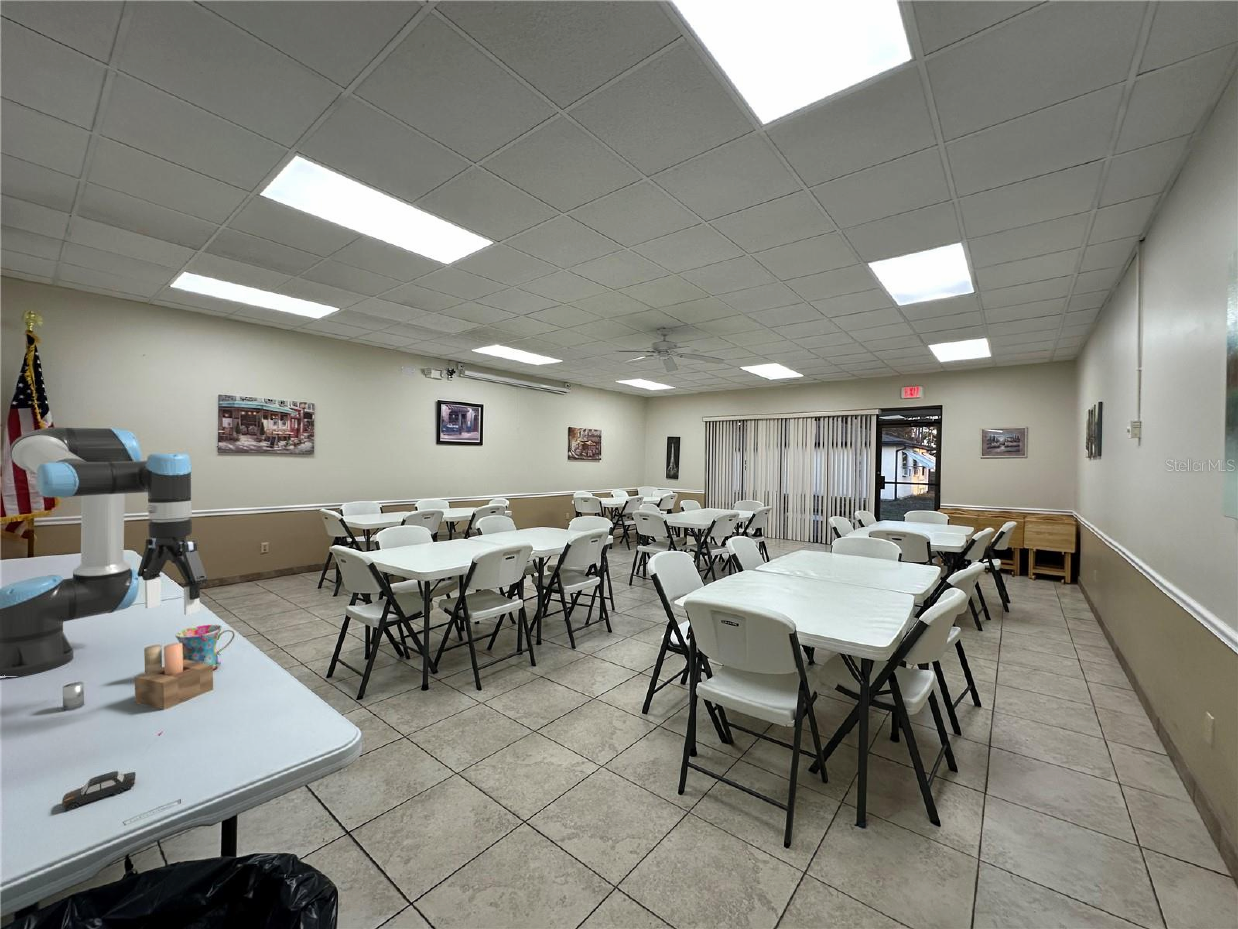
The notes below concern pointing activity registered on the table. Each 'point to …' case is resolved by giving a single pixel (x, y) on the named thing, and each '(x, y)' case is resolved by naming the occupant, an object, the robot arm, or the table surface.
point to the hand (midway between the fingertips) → (172, 609)
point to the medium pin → (153, 657)
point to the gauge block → (173, 685)
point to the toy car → (99, 788)
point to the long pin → (173, 659)
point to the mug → (202, 644)
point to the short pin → (73, 696)
